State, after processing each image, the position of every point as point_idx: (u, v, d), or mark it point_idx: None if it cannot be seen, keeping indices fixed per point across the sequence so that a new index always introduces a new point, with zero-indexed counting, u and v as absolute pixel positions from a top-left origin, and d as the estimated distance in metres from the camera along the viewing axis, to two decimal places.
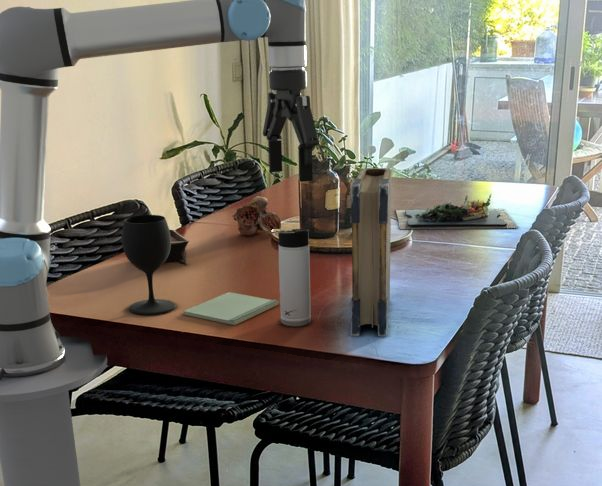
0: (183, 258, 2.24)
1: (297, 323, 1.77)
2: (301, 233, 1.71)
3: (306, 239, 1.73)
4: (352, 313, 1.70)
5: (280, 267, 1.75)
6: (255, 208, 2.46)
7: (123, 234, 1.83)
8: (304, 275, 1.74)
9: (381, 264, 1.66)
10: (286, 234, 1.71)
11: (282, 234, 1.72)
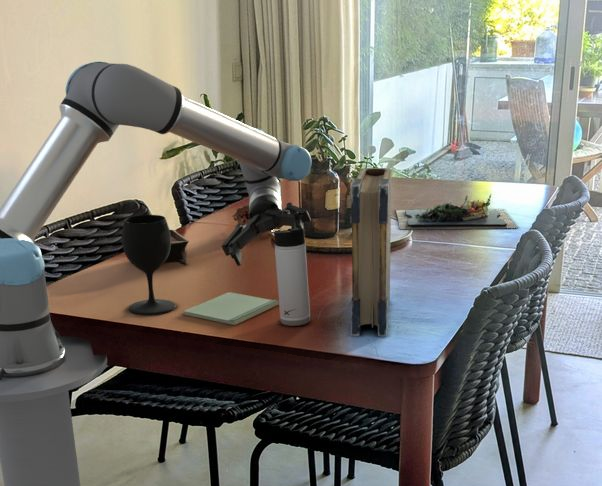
0: (183, 258, 2.24)
1: (297, 322, 1.77)
2: (296, 232, 1.71)
3: (302, 238, 1.73)
4: (352, 313, 1.70)
5: (277, 267, 1.75)
6: None
7: (123, 234, 1.83)
8: (301, 274, 1.75)
9: (381, 264, 1.66)
10: (281, 233, 1.71)
11: (278, 234, 1.72)
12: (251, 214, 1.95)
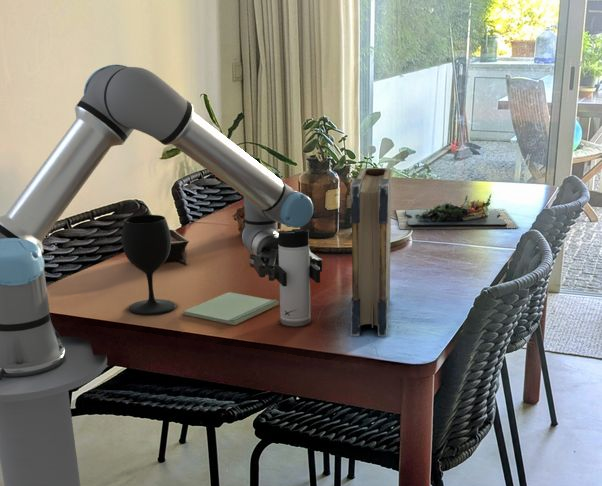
0: (183, 258, 2.24)
1: (297, 323, 1.77)
2: (301, 233, 1.71)
3: (306, 239, 1.73)
4: (352, 313, 1.70)
5: None
6: None
7: (123, 234, 1.83)
8: (304, 275, 1.74)
9: (381, 264, 1.66)
10: (286, 234, 1.71)
11: (282, 234, 1.72)
12: (263, 248, 1.89)
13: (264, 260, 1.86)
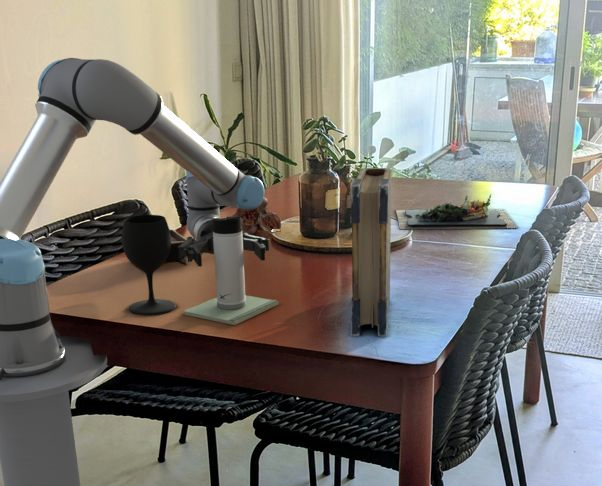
0: (183, 258, 2.24)
1: (232, 306, 1.86)
2: (233, 220, 1.79)
3: (238, 226, 1.81)
4: (352, 313, 1.70)
5: (215, 253, 1.84)
6: None
7: (123, 234, 1.83)
8: (237, 260, 1.83)
9: (381, 264, 1.66)
10: (219, 221, 1.80)
11: (215, 221, 1.80)
12: (202, 232, 1.97)
13: None
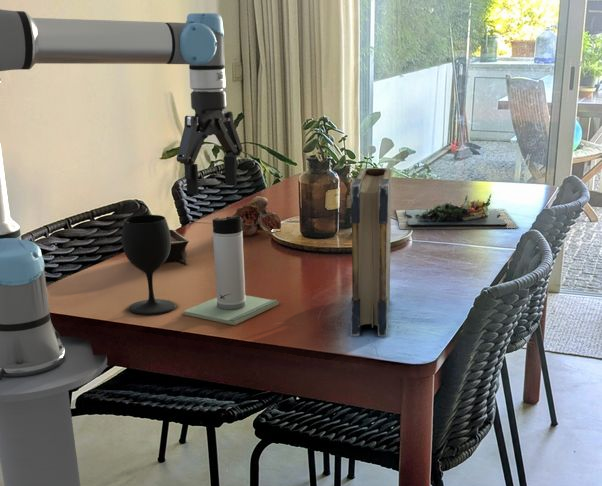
0: (183, 258, 2.24)
1: (232, 306, 1.86)
2: (233, 220, 1.79)
3: (238, 226, 1.81)
4: (352, 313, 1.70)
5: (215, 253, 1.84)
6: (255, 208, 2.46)
7: (123, 234, 1.83)
8: (237, 260, 1.83)
9: (381, 264, 1.66)
10: (219, 221, 1.80)
11: (215, 221, 1.80)
12: None
13: None
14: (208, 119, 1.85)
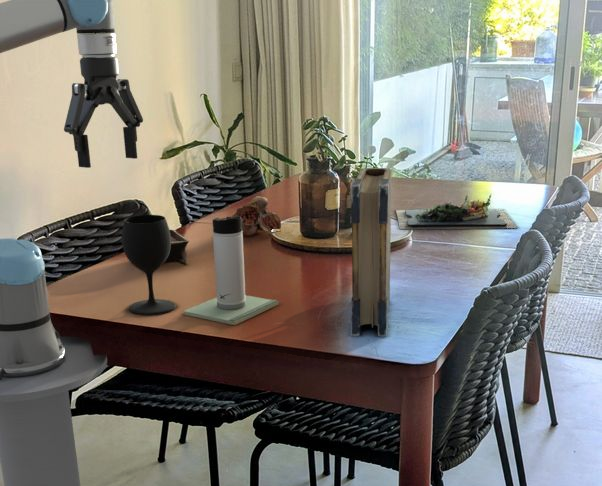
0: (183, 258, 2.24)
1: (232, 306, 1.86)
2: (233, 220, 1.79)
3: (239, 226, 1.81)
4: (352, 313, 1.70)
5: (215, 253, 1.84)
6: (255, 208, 2.46)
7: (123, 234, 1.83)
8: (237, 260, 1.83)
9: (381, 264, 1.66)
10: (219, 221, 1.80)
11: (215, 221, 1.80)
12: None
13: None
14: (99, 87, 1.75)
